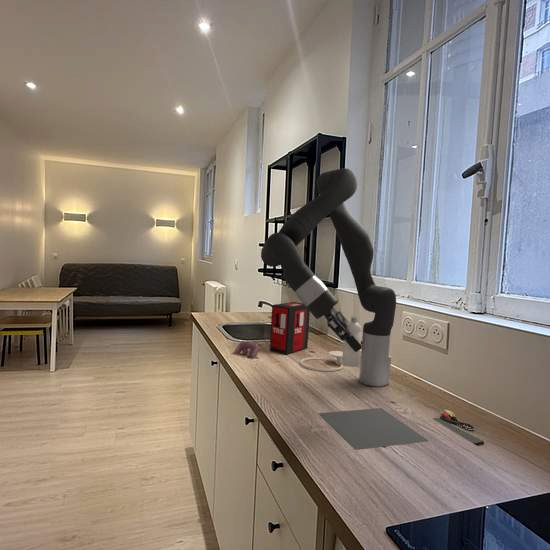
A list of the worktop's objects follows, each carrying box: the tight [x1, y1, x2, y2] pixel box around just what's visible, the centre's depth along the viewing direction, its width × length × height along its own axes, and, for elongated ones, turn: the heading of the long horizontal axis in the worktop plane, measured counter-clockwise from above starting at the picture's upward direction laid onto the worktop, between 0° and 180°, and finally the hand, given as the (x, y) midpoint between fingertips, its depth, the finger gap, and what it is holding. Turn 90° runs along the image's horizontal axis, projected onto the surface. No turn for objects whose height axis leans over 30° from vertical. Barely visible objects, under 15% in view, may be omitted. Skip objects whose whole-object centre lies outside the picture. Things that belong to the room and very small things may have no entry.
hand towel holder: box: [298, 350, 344, 373], centre depth 158 cm, size 17×4×21 cm
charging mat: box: [317, 407, 430, 451], centre depth 103 cm, size 20×20×1 cm
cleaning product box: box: [269, 301, 311, 356], centre depth 177 cm, size 16×9×20 cm, turn 144°
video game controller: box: [233, 340, 261, 359], centre depth 165 cm, size 10×5×7 cm, turn 59°
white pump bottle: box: [341, 316, 363, 368], centre depth 105 cm, size 4×4×12 cm
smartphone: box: [432, 417, 485, 446], centre depth 104 cm, size 7×1×15 cm
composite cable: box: [438, 408, 475, 430], centre depth 110 cm, size 10×5×2 cm, turn 22°
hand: (359, 347), depth 105 cm, fingers closed on white pump bottle, 4 cm apart
